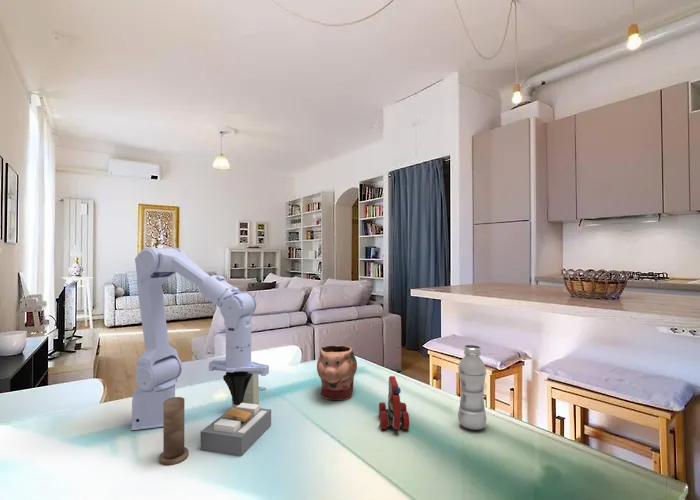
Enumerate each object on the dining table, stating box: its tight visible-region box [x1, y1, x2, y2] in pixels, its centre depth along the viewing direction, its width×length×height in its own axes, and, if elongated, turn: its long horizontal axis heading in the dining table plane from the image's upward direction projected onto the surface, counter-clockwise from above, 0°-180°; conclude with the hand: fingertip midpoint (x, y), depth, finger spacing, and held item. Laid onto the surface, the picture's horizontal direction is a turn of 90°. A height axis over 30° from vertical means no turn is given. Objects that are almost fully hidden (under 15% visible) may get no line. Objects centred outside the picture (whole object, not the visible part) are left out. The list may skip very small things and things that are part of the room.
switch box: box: [200, 403, 272, 457], centre depth 87 cm, size 10×14×5 cm
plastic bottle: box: [457, 344, 487, 431], centre depth 92 cm, size 6×7×20 cm
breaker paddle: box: [225, 407, 251, 422], centre depth 87 cm, size 5×3×2 cm, turn 76°
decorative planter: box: [316, 344, 358, 401], centre depth 113 cm, size 20×12×14 cm, turn 178°
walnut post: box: [158, 396, 190, 466], centre depth 78 cm, size 6×6×12 cm
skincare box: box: [231, 374, 260, 408], centre depth 100 cm, size 6×4×12 cm
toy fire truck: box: [378, 375, 410, 430], centre depth 94 cm, size 7×12×10 cm, turn 179°
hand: (238, 403), depth 87 cm, fingers closed
